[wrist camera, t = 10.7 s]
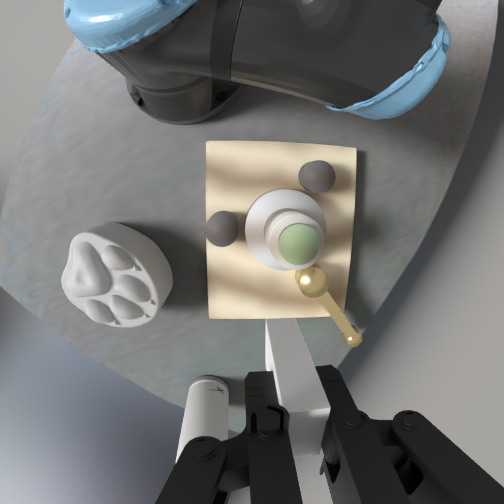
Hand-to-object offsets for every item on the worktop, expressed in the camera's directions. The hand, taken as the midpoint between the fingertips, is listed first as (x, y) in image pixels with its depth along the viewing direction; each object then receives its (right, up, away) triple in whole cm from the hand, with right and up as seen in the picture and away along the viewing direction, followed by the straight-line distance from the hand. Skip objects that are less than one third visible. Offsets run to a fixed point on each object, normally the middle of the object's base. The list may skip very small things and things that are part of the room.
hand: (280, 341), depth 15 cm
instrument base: (+2, +7, +22) cm, 23 cm away
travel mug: (-8, -17, +28) cm, 34 cm away
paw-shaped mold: (-18, +3, +23) cm, 29 cm away
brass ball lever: (+8, -2, +22) cm, 24 cm away
